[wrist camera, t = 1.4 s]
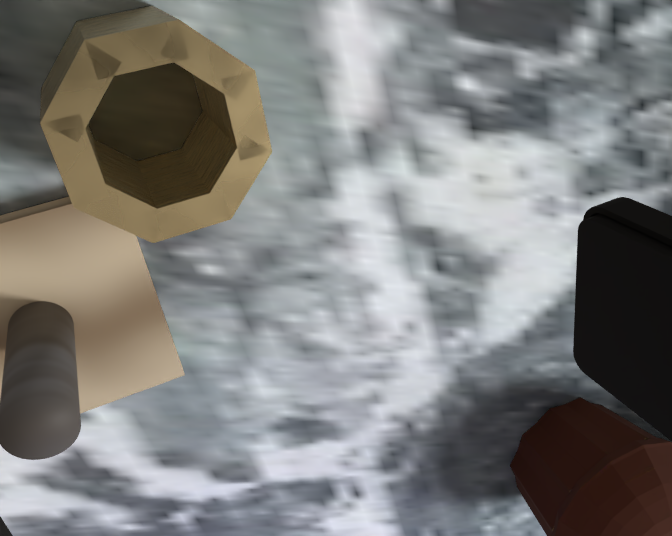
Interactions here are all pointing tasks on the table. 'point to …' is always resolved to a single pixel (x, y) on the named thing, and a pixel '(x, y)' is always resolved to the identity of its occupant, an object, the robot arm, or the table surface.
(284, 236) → the table surface
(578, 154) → the table surface
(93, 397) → the post stand
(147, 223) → the brass ring
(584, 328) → the robot arm
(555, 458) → the muffin
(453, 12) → the table surface
